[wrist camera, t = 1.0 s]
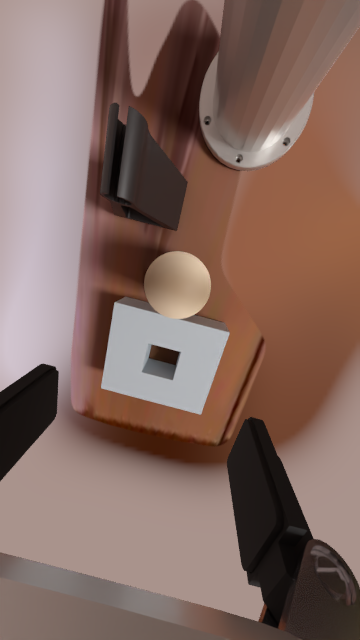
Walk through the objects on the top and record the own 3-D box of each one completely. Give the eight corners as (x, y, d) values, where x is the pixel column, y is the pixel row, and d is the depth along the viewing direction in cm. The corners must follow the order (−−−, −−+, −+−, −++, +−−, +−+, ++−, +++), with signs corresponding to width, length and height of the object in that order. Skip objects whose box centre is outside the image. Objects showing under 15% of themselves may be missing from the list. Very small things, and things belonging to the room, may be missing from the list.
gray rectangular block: (125, 296, 31) (114, 302, 26) (224, 322, 31) (229, 332, 26) (112, 372, 35) (101, 388, 30) (200, 395, 35) (200, 414, 30)
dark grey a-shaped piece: (115, 214, 28) (58, 180, 16) (121, 165, 26) (63, 88, 14) (176, 231, 28) (164, 208, 16) (187, 183, 26) (182, 119, 14)
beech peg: (167, 250, 28) (151, 242, 18) (210, 261, 28) (220, 261, 18) (157, 293, 30) (137, 309, 20) (198, 304, 30) (200, 326, 20)
